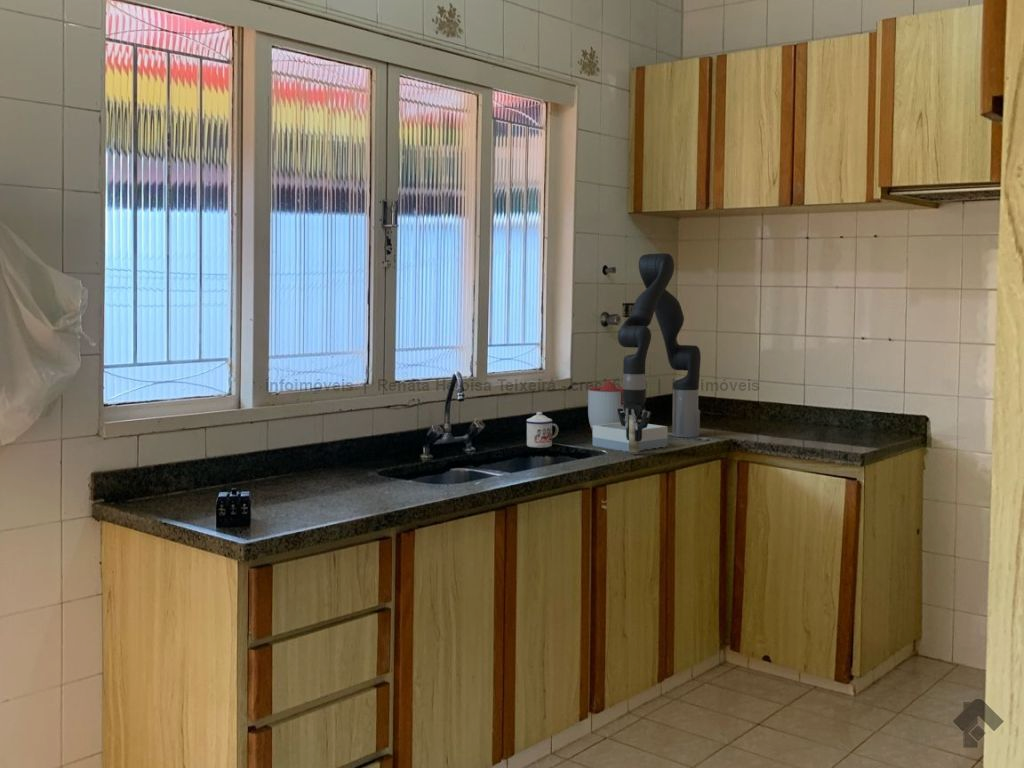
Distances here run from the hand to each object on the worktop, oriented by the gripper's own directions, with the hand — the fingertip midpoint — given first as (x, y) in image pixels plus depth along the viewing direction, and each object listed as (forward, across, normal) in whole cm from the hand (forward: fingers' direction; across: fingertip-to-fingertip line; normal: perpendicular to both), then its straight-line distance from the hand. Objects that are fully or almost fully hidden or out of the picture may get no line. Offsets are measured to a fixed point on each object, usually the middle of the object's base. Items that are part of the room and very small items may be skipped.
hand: (633, 440), depth 336 cm
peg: (+4, 0, 0) cm, 4 cm away
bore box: (+5, +14, -12) cm, 19 cm away
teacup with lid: (+5, +34, +10) cm, 36 cm away
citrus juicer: (+5, +40, -28) cm, 49 cm away
